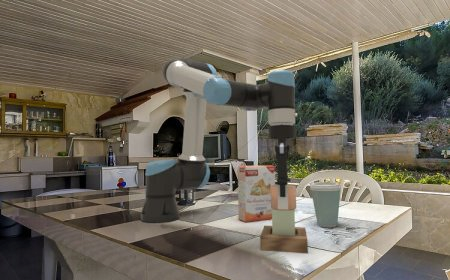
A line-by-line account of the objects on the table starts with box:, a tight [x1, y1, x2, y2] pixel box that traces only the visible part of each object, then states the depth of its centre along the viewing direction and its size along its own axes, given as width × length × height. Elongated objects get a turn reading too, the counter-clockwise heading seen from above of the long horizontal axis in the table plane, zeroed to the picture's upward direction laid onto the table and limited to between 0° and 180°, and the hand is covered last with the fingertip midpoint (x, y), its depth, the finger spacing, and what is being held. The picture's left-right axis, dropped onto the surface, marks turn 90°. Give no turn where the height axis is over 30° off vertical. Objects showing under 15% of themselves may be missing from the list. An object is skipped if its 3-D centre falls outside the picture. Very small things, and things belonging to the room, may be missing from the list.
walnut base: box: [259, 225, 309, 254], centre depth 80 cm, size 12×12×4 cm
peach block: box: [271, 184, 297, 210], centre depth 81 cm, size 7×7×6 cm
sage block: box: [271, 209, 296, 236], centre depth 81 cm, size 6×6×8 cm
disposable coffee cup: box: [309, 181, 342, 228], centre depth 102 cm, size 11×11×15 cm
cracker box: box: [237, 165, 276, 223], centre depth 112 cm, size 14×6×21 cm, turn 117°
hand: (283, 206), depth 81 cm, fingers closed on peach block, 7 cm apart
